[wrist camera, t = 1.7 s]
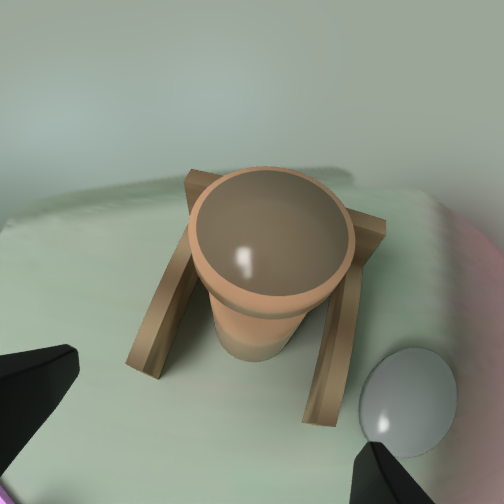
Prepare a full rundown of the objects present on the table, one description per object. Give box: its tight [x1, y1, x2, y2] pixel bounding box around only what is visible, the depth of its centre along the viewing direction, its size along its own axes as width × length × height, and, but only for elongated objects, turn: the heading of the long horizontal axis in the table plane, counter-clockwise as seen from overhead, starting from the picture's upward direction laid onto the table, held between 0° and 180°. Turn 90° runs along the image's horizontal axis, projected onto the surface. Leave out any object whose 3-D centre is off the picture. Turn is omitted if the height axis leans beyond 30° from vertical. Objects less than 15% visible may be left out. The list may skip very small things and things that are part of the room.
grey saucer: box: [359, 347, 457, 458], centre depth 18 cm, size 9×9×1 cm
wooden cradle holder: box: [125, 169, 386, 427], centre depth 18 cm, size 12×13×8 cm
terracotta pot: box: [188, 166, 355, 362], centre depth 16 cm, size 6×6×13 cm
